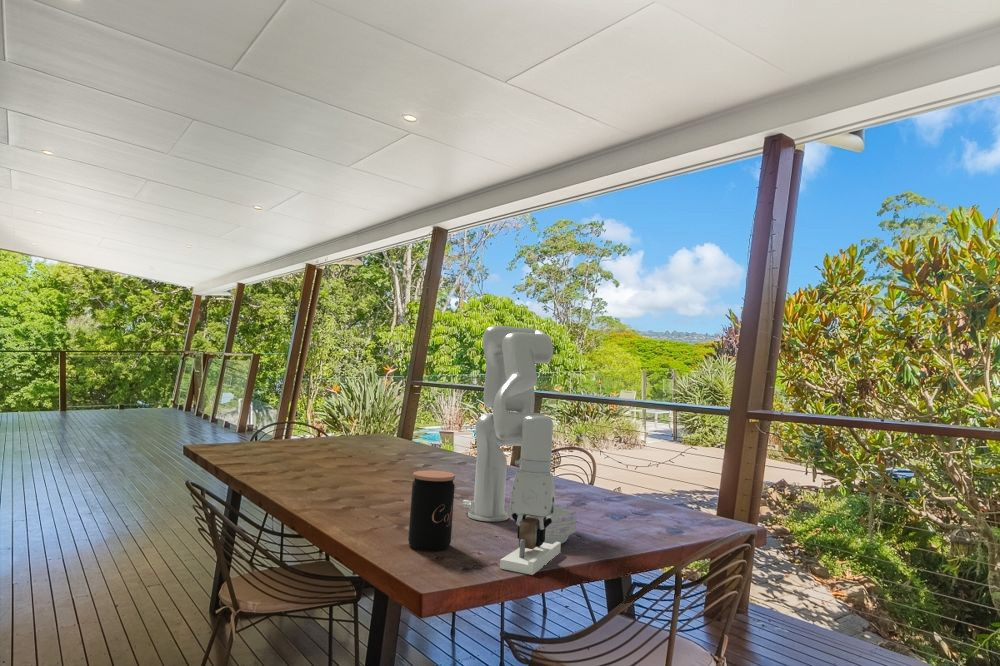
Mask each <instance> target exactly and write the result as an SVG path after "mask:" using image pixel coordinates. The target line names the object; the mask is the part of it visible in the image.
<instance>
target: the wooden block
mask: <svg viewBox="0 0 1000 666" xmlns="http://www.w3.org/2000/svg"><path fill="white" fill-rule="evenodd" d="M537 529H539V520H538V517H536V516H528V517H527V518H525V519H523V520H521V521H520V531H519V538H518V548H520V540H521V539H524V540H525V548H527V549H534V548H535V547H537V546H536V540H537Z"/></svg>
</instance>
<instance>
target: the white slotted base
mask: <svg viewBox="0 0 1000 666" xmlns="http://www.w3.org/2000/svg"><path fill="white" fill-rule="evenodd" d="M561 546H562V544H561V542H555V543H554V544H549V543H543V544H542V545H541V546H539V547H538V546H537V547H535V548H534V549H527V548H525V540H524V539H521V540H520V547H518V548H517V549H515V550H513V551H511V552H510V553H509V554H507V555H505V556H504V557H502V558H500V559H499V561H500V563H499V569H501V570H506V571H510V572H515V573H521V574H525V575H531V576H533V575H535V574H536V573H537V572H538V571H540V570H541V569H543V566H544V565H545V566H546V565H548V564H549V563H550V562H551V561H552V560H551V559H552V558H554V557H555V556H556V555H558V554H559V553H560V554H561ZM560 554H559V555H560ZM559 555H558V556H559ZM555 558H556V557H555ZM555 558H554V559H555ZM550 560H551V561H550ZM549 561H550V562H549ZM548 562H549V563H548ZM547 563H548V564H547ZM545 566H544V567H545Z"/></svg>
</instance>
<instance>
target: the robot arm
mask: <svg viewBox="0 0 1000 666" xmlns="http://www.w3.org/2000/svg"><path fill="white" fill-rule="evenodd" d="M482 348H483V353H484V357H485V363H486V364H485V367H486V368H485V376H484V387H483V405H484V406H485V408H487V409H488V410H491V411H492V413H488V414H487V413H486V414H482V415H481V416H479V417H478V418H477V420H476V423H475V435H476V436H475V437H476V462H475V479H474V490H473V491H474V493H473V500H470V499H469V500H468V499H463V500H462V507H463V508H469V510H468V512H467V516H468V518H470V519H471V520H477V521H480V522H481V521H482V522H489V523H490V522H493V523H494V522H495V523H496V522H504V521H507V520H508V519H509V518H510V516H511V517H512V519H513V521H514V522H515V523H516V525H517V539H519V531H520V521H521V520H523V519H525V518H526V515H529V516H536V517H538V520H539V529H537V540H536V546H538V547H539V546H541V545H542V544H543V543H544V542H545V530H546V527H547V526H549V525H550V524H551V523H552V522H554V521H556V520H558V519H560V515H559V513H558V511H557V509H556V508H557V506H556V491H555V490H556V489H555V488H556V487H555V478H554V474H553V473H551V470H552V469H551V468H552V467H551V466H552V454H553V453H552V449H553V437H554V436H553V434H554V433H553V432H554V421H553V419H552V418H551V417H550V416H547V415H545V414H543V413H537V412H535V400H536V399H535V397H536V396H535V389H534V386H536V384H537V382H538V374H537V368H536V364H544V365H545V364H548V363H550V362H551V360H553V356H554V345H553V341H552V339H551V337H550V336H549V335H548V334H547V333H546V332H543V331H542V330H540V329H537V328H531V327H529V328H528V327H520V326H518V327H517V326H509V325H492V326H491V325H490V326H489V327H487V328H486V329H485V330H484V333H483V337H482ZM501 446H502V447H503V446H508V447H509V446H510V447H511V446H512V447H514V446H515V447H520V457H519V459H515V461H514V465H515V466H517V467H518V469H519V470H516V471H515V474H514V479H513V482H512V483H513V484H512V489H511V495H510V501H509V504H507V507H506V508H505V502H506V500H505V499H506V485H507V484H506V482H507V468H508V467H507V466H508V461H507V460H508V459H507V457H506V455H505V453H504V452H503V451H502V449H501ZM550 514H552V517H550V518H548V519H547V516H549V515H550ZM509 515H510V516H509Z"/></svg>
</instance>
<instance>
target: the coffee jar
mask: <svg viewBox="0 0 1000 666" xmlns="http://www.w3.org/2000/svg"><path fill="white" fill-rule="evenodd" d="M412 475H413V478H414V480H413V482H412V483H411V495H410V496H411V498H410V499H411V500H410V512H409V523H408V526H409V527H408V539H407V541H408V543H409V545H410V547H411V548H412V549H414V550H417V551H421V552H441V551H444V550H446V549H448V547H449V546H450V544H451V542H452V531H453V530H452V529H453V527H452V526H453V516H454V515H453V513H454V503H455V502H454V499H455V498H454V497H455V489H456V487H455V484H454V480H455V479H456V474H455V473H453V472H449V471H443V470H431V469H429V470H417V471H414V472H413V473H412Z"/></svg>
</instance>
